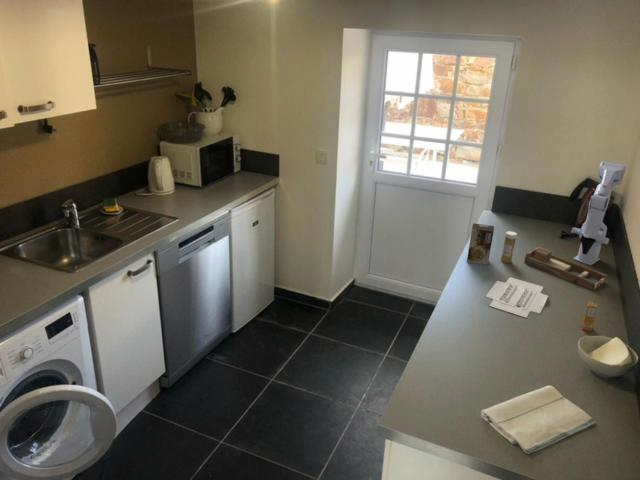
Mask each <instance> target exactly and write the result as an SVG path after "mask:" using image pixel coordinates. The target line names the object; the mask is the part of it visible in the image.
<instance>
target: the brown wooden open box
mask: <svg viewBox="0 0 640 480" xmlns="http://www.w3.org/2000/svg"><path fill="white" fill-rule="evenodd" d="M540 248H541V247H540V246H538V247H536V248H534V249H532V250H530V251H529V252H527V253H526V254H525V257H524V262H523V263H524V264H526V265H529V266H531V267H534V268H536V269H539V270H542V271H544V272H547V273H549V274H552V275H554V276H556V277H559V278H561V279H564V280H567V281H569V282H573V283H575V284H577V285H579V286H582V287H584V288H586V289H589V290H592V291H594V290H595V289H597V288H598V287H599V286H600V284H601V285H602V284H603V283H605V281H606V278H607V274H605V273H603V272H599V271H598V270H595V269H591V268H589V267H587V266H584V265H581V264H578V263H577V262H573V261H570V260H567V259H565V258H562V257H559V256H558V255H557V256H556V255H554V254H552V255H551V259H550V260H549V261H547V262H546V263H544V262H542V261H539V260H536V259H534V256H535V252H536V250H538V249H540ZM597 286H598V287H597ZM593 289H594V290H593Z"/></svg>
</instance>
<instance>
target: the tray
mask: <svg viewBox="0 0 640 480" xmlns="http://www.w3.org/2000/svg"><path fill="white" fill-rule="evenodd" d="M543 290H544V286H543V285H538V284H536V283H531V282H529V281H524V280H521V279H518V278H515V277H509V278H508V279H507V280H506V282H504V281H500V280H496V282H494V284H493V286H492V287H491V289H490V290H489V291H488V292H487V293H486V295H485V298H487V299H491V300H492V302H491V303H490V304H489V307H493V308H495V309H498V310H502V311H504V312H507V313H511V314H514V315H517V316H519V317H523V318H526V319H527V318H528V316H529V314H530V313H534V314H537V315H541V312H542V310H543V309H544V308H545V305H546V304H547V301H548V299H549V297H550V296H549V295H547V294H544V293H542V291H543Z"/></svg>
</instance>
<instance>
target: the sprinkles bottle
mask: <svg viewBox="0 0 640 480" xmlns="http://www.w3.org/2000/svg"><path fill="white" fill-rule="evenodd" d="M504 236H505V237H504V243H503V247H502V253H501V258H500V261H501V262H503V263H505V264H510V263H511V262H512V259H513V255H514V249H515V244H516V240H517V236H518V233H517V232H515V231H509V230H508V231H506V232H505V235H504Z"/></svg>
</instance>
